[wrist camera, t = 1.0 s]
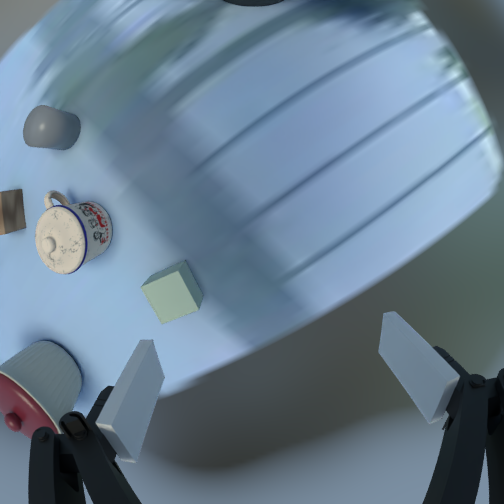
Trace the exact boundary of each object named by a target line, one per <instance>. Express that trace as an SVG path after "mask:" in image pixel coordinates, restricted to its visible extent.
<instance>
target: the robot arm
mask: <svg viewBox="0 0 504 504" xmlns="http://www.w3.org/2000/svg"><path fill="white" fill-rule="evenodd" d="M224 1H227V2H230V3H233V4H238V5H244V6H264V5H270V4H274V3H278V2H281V1H283V0H224ZM379 353H380V355H381V356H382V358H383V359H384V360H385V362H386V363H387V365H388V366H389V367H390V369H391V370H392V371H393V373H394V374H395V376H396V377H397V378H398V380H399V381H400V383H401V384H402V385H403V387H404V388H405V390H406V391H407V392H408V394H409V395H410V397H411V398H412V400H413V401H414V402H415V404H416V406H417V407H418V408H419V410H420V411H421V413H422V414H423V416H424V417H425V419H426V420H427V422H428V423H429V424H431V423H434V422H436V421H438V420H440V419H442V417H443V415H444V413H445V411H447V412H448V414H449V416H448V418H447V420H446V422H445V424H444V426H443V428H442V429H443V430H444V428H445V432H444V436H443V441H442V445H441V449H440V453H439V456H438V460H437V463H436V466H435V470H434V473H433V476H432V479H431V482H430V485H429V488H428V491H427V493H426V497H425V499H424V501H423V504H475V500H476V496H477V492H478V487H479V483H480V478H481V472H482V466H483V460H484V453H485V449H486V456H487V466H488V478H489V504H504V368H503V369H501V370H500V371H499V373H498V376H497V378H492V379H487V380H486V379H485V378H484V377H483V376H481V375H478V374H472V375H470V374H468V372H466V371H465V369H464V368H462V366H461V365H460V364H458V363H457V362H456V361H454V359H453V358H452V357H451V356H450V355H449V354H448V353H447V352H446V351H445V350H444V349H442V348H440V347H438V346H435V347H431V346H430V345H429V344H428V343H427V342H426V341H425V340H424V339H423V338H422V337H421V336H420V335H419V334H418V333H417V332H416V331H415V330H414V329H413V328H412V327H411V326H410V325H409V324H408V323H407V322H406V321H404V320H403V319H402V318H401V317H400V316H399V315H398V314H397V313H396V312H395V311H393V312H388V313H384V314H383V323H382V331H381V339H380V345H379ZM164 378H165V377H164V374H163V371H162V368H161V365H160V362H159V359H158V355H157V352H156V349H155V346H154V342H153V340H140V342H139V343H138V345H137V347H136V349H135V350H134V352H133V354H132V356H131V357H130V359H129V361H128V363H127V365H126V366H125V368H124V370H123V372H122V374H121V375H120V377H119V379H118V381H117V383H116V385H115V386H107V387H106V388H105V389H104V390H103V391H101V393H100V394H99V396H98V398H97V400H96V402H95V403H94V406H93V407H92V409H91V410H90V412H89V414H88V416H87V418H86V419H85V417H84V416H83V414H82V413H80V412H76V411H72V412H68V413H66V414H64V415H63V416H62V417H61V418H60V420H59V427H60V429H61V430H62V431H63V433H64V434H55V433H54V431H53V430H52V429H51V428H50V427H46V426H43V427H39V428H38V429H36V430H35V431H34V433H33V435H32V439H31V449H30V461H29V485H28V490H29V492H28V494H29V504H86V501H85V494H84V488H83V482H84V484H85V486H86V489H87V491H88V493H89V495H90V497H91V500H92V501H93V504H142V503H141V502H140V500H139V499H138V497H137V496H136V494H135V493H134V491H133V490H132V488H131V486H130V485H129V483H128V482H127V480H126V478H125V477H124V475H123V473H122V471H121V470H120V468H119V466H118V465H117V463H116V462H115V460H114V459H115V457H116V454H117V455H118V456H119V458H120V459H121V460H122V461H127V462H133V463H137V460H138V457H139V453H140V450H141V447H142V444H143V440H144V437H145V434H146V431H147V428H148V425H149V422H150V419H151V416H152V413H153V410H154V407H155V404H156V401H157V398H158V395H159V392H160V389H161V386H162V383H163V381H164ZM82 479H83V480H82Z"/></svg>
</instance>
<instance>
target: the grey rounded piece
mask: <svg viewBox="0 0 504 504" xmlns="http://www.w3.org/2000/svg"><path fill="white" fill-rule="evenodd" d="M80 128H81V126H80V121H79V119H78V117H77V116H75V115H73V114H70V113H67V112H64V111H61V110H58V109H55V108H52V107H48V106H45V105H40V106H37V107H36V108H34V109H33V110H32V111H31V112H30V114H29V115H28V117H27V119H26V121H25V124H24V129H23V137H24V141H25V143H26V144H27V145H28V146H30V147H39V148H50V149H59V150H66V149H68V148H70V147H72V146H73V145H74V143H75V142H76V141H77V139H78V137H79V134H80Z"/></svg>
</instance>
